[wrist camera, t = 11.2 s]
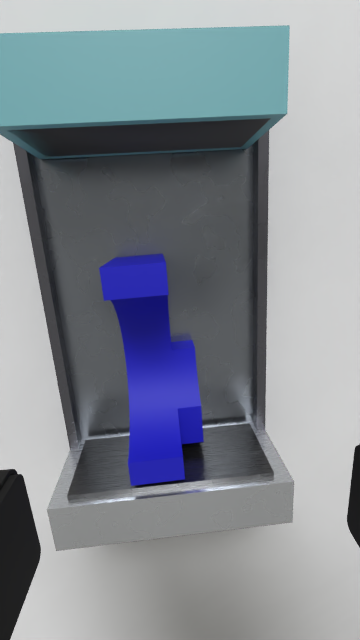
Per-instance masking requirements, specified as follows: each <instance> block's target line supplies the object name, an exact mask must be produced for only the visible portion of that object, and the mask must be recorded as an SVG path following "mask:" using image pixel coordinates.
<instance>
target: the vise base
mask: <svg viewBox="0 0 360 640" xmlns="http://www.w3.org/2000/svg"><path fill="white" fill-rule="evenodd" d="M13 144H14V150H15V155H16V161H17V166H18V171H19V177H20V182H21V187H22V193H23V198H24V204H25V209H26V214H27V220H28V225H29V231H30V236H31V241H32V247H33V252H34V257H35V263H36V268H37V274H38V279H39V284H40V290H41V295H42V301H43V306H44V311H45V317H46V322H47V327H48V333H49V338H50V344H51V349H52V354H53V360H54V365H55V370H56V376H57V381H58V387H59V392H60V397H61V403H62V408H63V414H64V419H65V424H66V430H67V435H68V440H69V446H70V451H69V454H68V457H67V459H66V462H65V464H64V467H63V469H62V472H61V475H60V477H59V480H58V482H57V485H56V488H55V490H54V493H53V495H52V498H51V501H50V503H49V506H48V508H47V512H48V516H49V521H50V525H51V530H52V534H53V539H54V543H55V548H56V551H59V550H68V549H76V548H84V547H92V546H101V545H109V544H117V543H125V542H134V541H142V540H150V539H158V538H167V537H175V536H183V535H191V534H200V533H208V532H216V531H224V530H233V529H241V528H249V527H257V526H266V525H274V524H282V523H290V522H292V518H293V495H294V480H293V479H292V477H291V475H290V473H289V471H288V470H287V468H286V466H285V464H284V463H283V461H282V459H281V457H280V455H279V454H278V452H277V450H276V448H275V446H274V445H273V443H272V441H271V439H270V437H269V436H268V434H267V432H266V430H265V393H266V318H267V242H268V167H269V130H268V131H267V132H266V133H265V134H264V135H263V136H261V137H260V138H259V139H258V140H257V141H256V142H255V143H253V144H252V145H251V146H250V147H249V148H248V149H234V150H214V151H195V152H175V153H155V154H135V155H115V156H96V157H76V158H56V159H39V158H37V157H35V156H34V155H32V154H31V153H29V152H27V151H26V150H24V149H23V148H21V147H19V146H18V145H16V144H15V143H13ZM162 253H163V256H164V259H165V261H166V270H167V281H168V293H169V295H168V310H169V323H170V336H171V342H177V341H187V340H192V341H193V344H194V346H195V356H196V367H197V377H198V385H199V393H200V401H201V410H202V425H203V440H204V442H198V443H189V444H182V453H183V462H184V474H185V479H183V480H175V481H167V482H159V483H151V484H142V485H134V486H131V482H130V475H129V468H128V456H129V435H130V417H129V392H128V379H127V368H126V360H125V352H124V345H123V339H122V334H121V329H120V325H119V320H118V317H117V314H116V311H115V308H114V306H113V304H112V302H111V301H110V300H106V301H104V298H103V291H102V284H101V277H100V271H99V268H100V267H101V266H103V265H104V264H106V263H107V262H109V261H111V260H112V259H114V258H115V257H126V256H138V255H150V254H162Z"/></svg>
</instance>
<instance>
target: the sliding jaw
mask: <svg viewBox="0 0 360 640" xmlns="http://www.w3.org/2000/svg"><path fill="white" fill-rule="evenodd" d="M288 64H289V26H254V27H218V28H182V29H146V30H110V31H74V32H38V33H2V34H0V135H2V136H4V137H5V138H7V139H8V140H10V141H12V142H13V143H15V144H16V145H18V146H19V147H21V148H23V149H24V150H26V151H27V152H29V153H31V154H32V155H34V156H35V157H37V158H39V159H56V158H76V157H96V156H115V155H135V154H155V153H175V152H195V151H214V150H234V149H248V148H249V147H250V146H251V145H252V144H253V143H255V142H256V141H257V140H258V139H259V138H260V137H261V136H263V135H264V134H265V133H266V132H267V131H268V130H269V129H270V128H272V127H273V126H274V125H275V124H276V123H277V122H278V121H279V120H281V119H282V118H283V117H284V116H285V115H286V114H287V101H288Z"/></svg>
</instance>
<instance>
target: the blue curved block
mask: <svg viewBox="0 0 360 640" xmlns="http://www.w3.org/2000/svg"><path fill="white" fill-rule="evenodd" d="M99 271H100V277H101V284H102V291H103V298H104V301H106V300H110V301H111V302H112V304H113V306H114V308H115V311H116V314H117V317H118V320H119V325H120V329H121V334H122V339H123V345H124V352H125V360H126V368H127V379H128V392H129V417H130V435H129V456H128V468H129V475H130V482H131V486H134V485H142V484H151V483H159V482H167V481H175V480H183V479H185V474H184V462H183V453H182V444H189V443H198V442H204V440H203V425H202V410H201V401H200V393H199V385H198V377H197V367H196V356H195V346H194V344H193V341H192V340H187V341H177V342H171V336H170V323H169V310H168V295H169V293H168V281H167V270H166V261H165V259H164V256H163V253H162V254H150V255H138V256H126V257H115V258H114V259H112V260H111V261H109V262H107V263H106V264H104V265H103V266H101V267H100V268H99Z"/></svg>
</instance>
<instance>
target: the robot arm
mask: <svg viewBox="0 0 360 640" xmlns="http://www.w3.org/2000/svg"><path fill="white" fill-rule="evenodd" d="M347 522H348V527H349V530H350V532H351V534H352V536H353V537H354V539H355V541H356V542H357V544H358V545H359V547H360V445H358V446H356V447H355V452H354V461H353V470H352V479H351V488H350V497H349V506H348V515H347ZM40 553H41V548H40V543H39V539H38V535H37V531H36V527H35V523H34V519H33V515H32V510H31V506H30V502H29V498H28V494H27V490H26V486H25V482H24V478H23V476H22V475H21V474H17V471H16V470H15V469H9V470H0V640H10V638H11V635H12V633H13V630H14V627H15V625H16V622H17V619H18V617H19V614H20V611H21V609H22V606H23V603H24V601H25V598H26V595H27V593H28V590H29V587H30V585H31V582H32V579H33V577H34V574H35V571H36V569H37V566H38V563H39V560H40Z"/></svg>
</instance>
